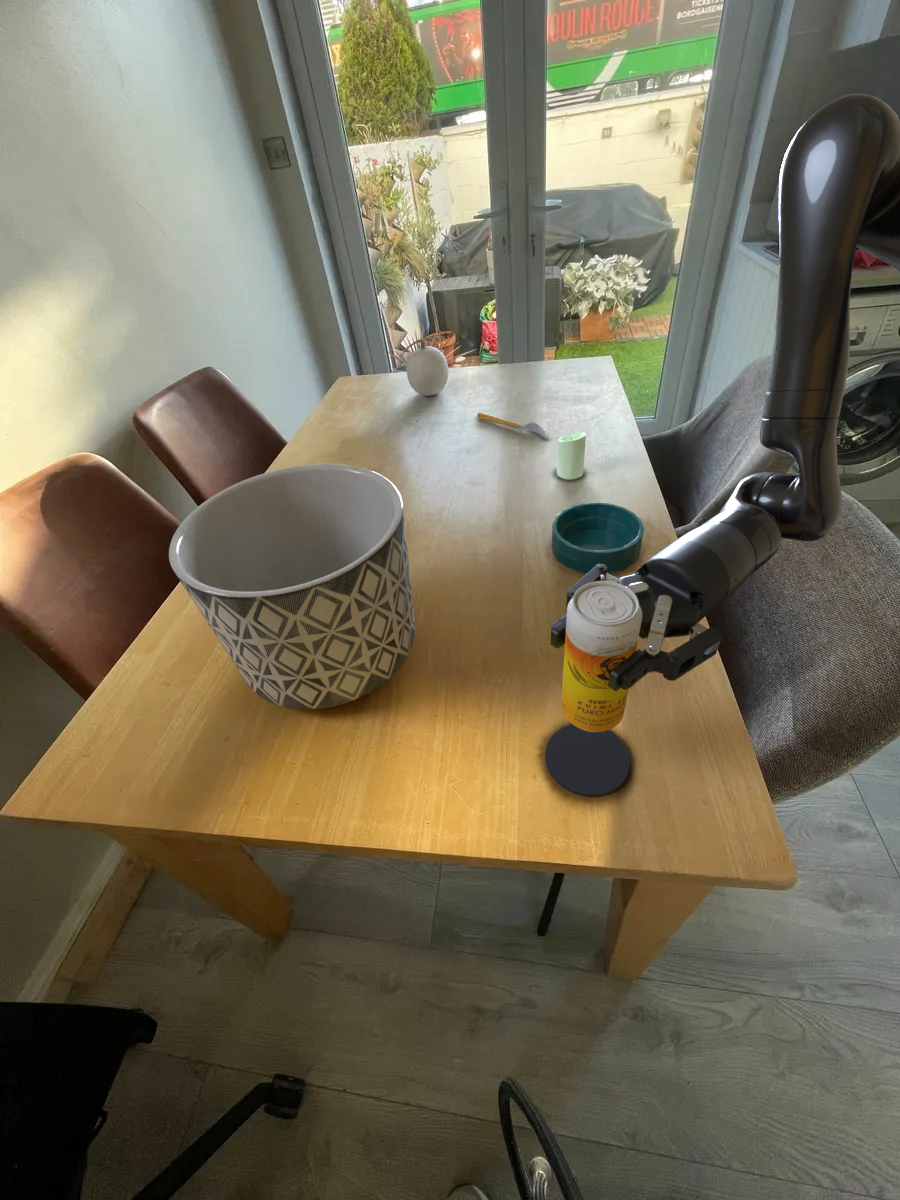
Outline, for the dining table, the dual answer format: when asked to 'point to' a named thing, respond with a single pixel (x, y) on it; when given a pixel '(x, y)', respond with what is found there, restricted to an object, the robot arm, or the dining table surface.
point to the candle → (571, 456)
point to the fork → (528, 426)
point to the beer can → (598, 653)
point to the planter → (303, 581)
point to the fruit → (427, 369)
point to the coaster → (587, 761)
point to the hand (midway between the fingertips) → (582, 660)
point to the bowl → (597, 537)
